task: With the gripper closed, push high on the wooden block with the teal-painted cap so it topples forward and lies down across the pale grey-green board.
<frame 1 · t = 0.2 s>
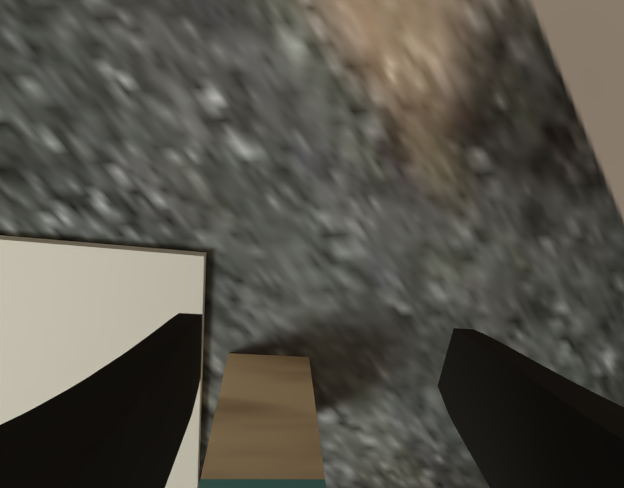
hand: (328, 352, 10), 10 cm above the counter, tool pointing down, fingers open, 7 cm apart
board: (47, 380, 20), on the counter
wooden block: (266, 387, 22), on the counter
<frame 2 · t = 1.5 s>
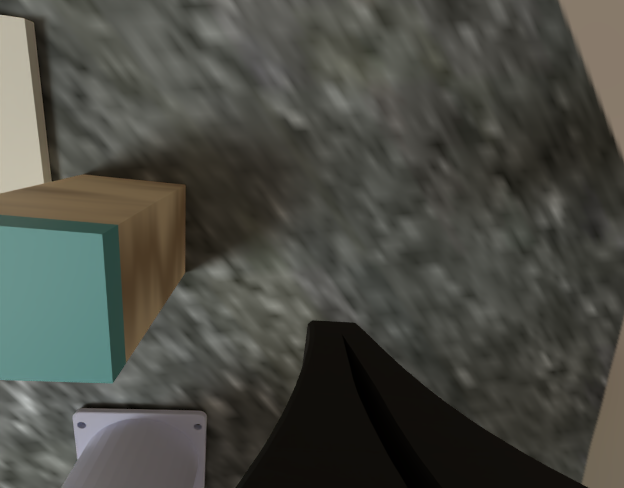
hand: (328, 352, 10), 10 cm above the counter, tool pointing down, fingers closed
wooden block: (137, 226, 18), on the counter
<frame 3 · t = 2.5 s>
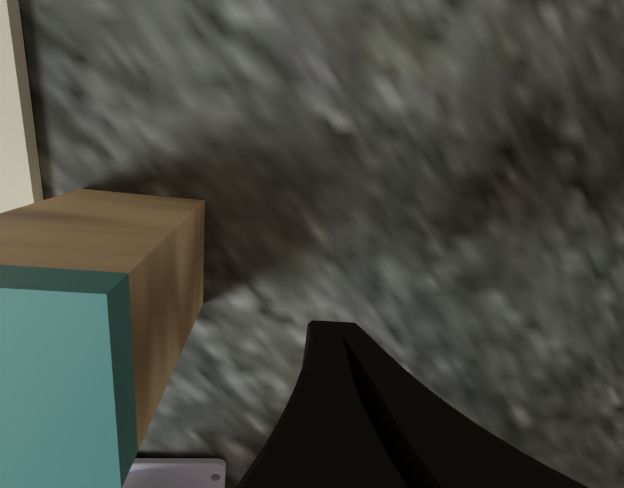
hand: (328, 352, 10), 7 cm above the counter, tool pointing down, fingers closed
wooden block: (146, 249, 15), on the counter
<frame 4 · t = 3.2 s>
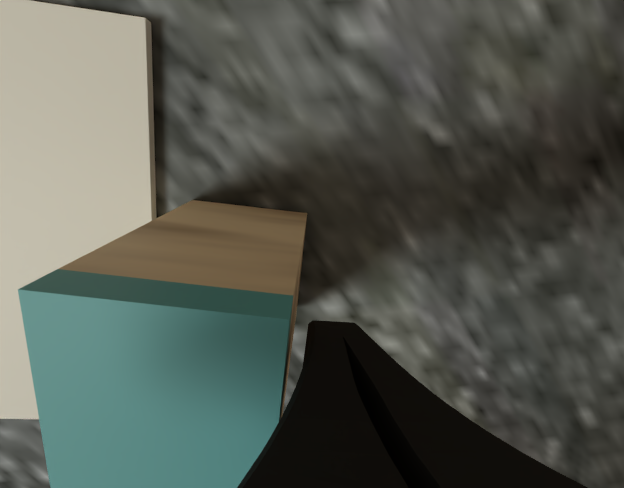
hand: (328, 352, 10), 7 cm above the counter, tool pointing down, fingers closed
wooden block: (246, 260, 16), on the counter, tilted 7°
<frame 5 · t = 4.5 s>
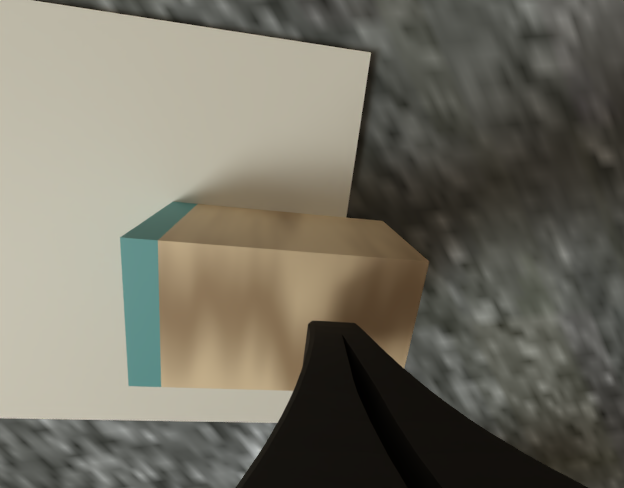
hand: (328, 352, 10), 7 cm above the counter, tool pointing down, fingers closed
board: (138, 250, 15), on the counter
wooden block: (389, 297, 14), point 3 cm above the counter, tilted 90°, touching board
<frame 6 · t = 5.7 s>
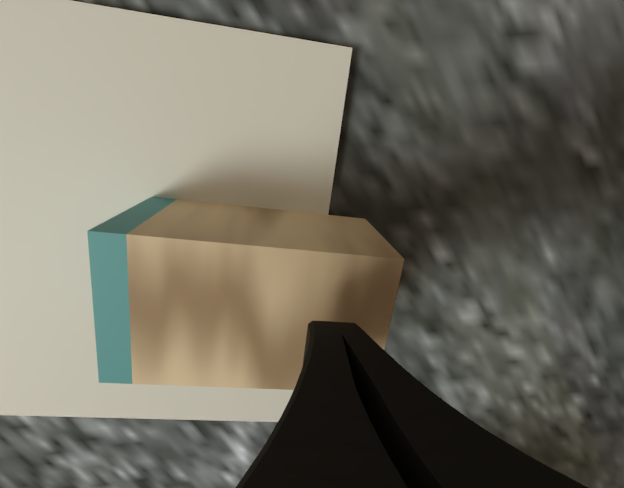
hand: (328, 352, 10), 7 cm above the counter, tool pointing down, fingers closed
board: (117, 245, 15), on the counter
wooden block: (369, 295, 14), point 3 cm above the counter, tilted 90°, touching board
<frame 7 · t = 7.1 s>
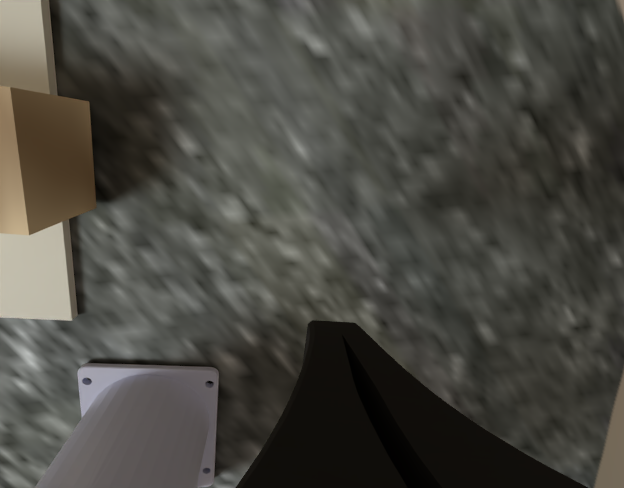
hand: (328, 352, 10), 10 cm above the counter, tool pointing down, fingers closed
wooden block: (62, 160, 14), point 3 cm above the counter, tilted 90°, touching board
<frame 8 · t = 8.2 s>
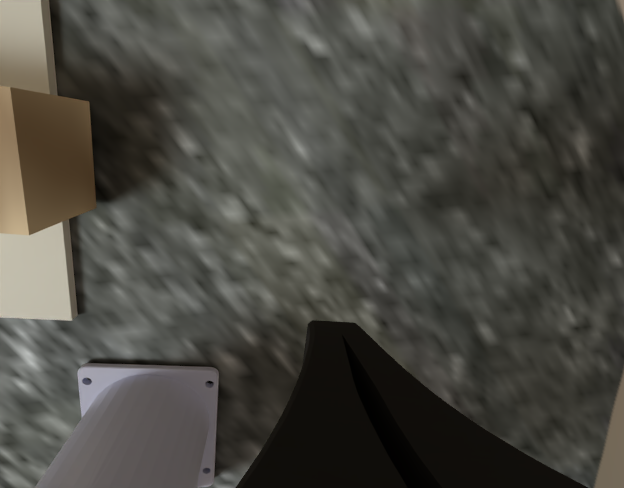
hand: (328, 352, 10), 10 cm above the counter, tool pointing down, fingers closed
wooden block: (62, 160, 14), point 3 cm above the counter, tilted 90°, touching board
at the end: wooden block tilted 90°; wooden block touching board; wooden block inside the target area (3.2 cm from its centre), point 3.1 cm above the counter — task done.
